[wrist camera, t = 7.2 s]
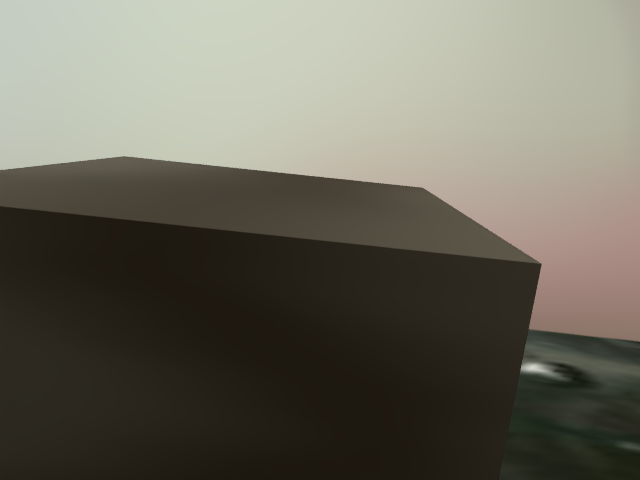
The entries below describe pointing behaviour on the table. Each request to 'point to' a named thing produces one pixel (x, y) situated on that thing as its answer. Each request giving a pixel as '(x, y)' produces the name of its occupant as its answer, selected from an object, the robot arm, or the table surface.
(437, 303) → the birch block
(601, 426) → the table surface
